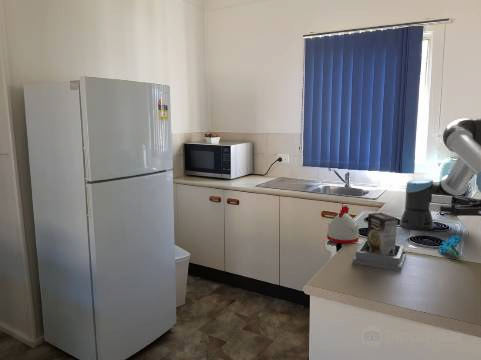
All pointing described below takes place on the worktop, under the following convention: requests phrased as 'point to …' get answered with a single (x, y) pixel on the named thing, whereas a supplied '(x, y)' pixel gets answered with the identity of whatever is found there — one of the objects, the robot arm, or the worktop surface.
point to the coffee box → (381, 234)
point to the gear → (450, 245)
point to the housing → (380, 258)
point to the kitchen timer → (343, 228)
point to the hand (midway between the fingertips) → (430, 202)
